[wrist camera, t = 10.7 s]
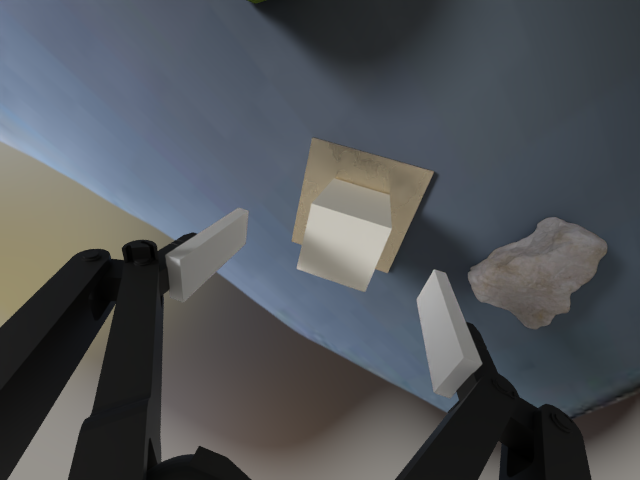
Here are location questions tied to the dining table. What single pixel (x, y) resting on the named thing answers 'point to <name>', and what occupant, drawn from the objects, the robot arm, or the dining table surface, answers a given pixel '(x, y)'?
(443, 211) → the dining table surface
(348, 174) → the square base with post
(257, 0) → the green apple
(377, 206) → the cream cuboid
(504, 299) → the stone
